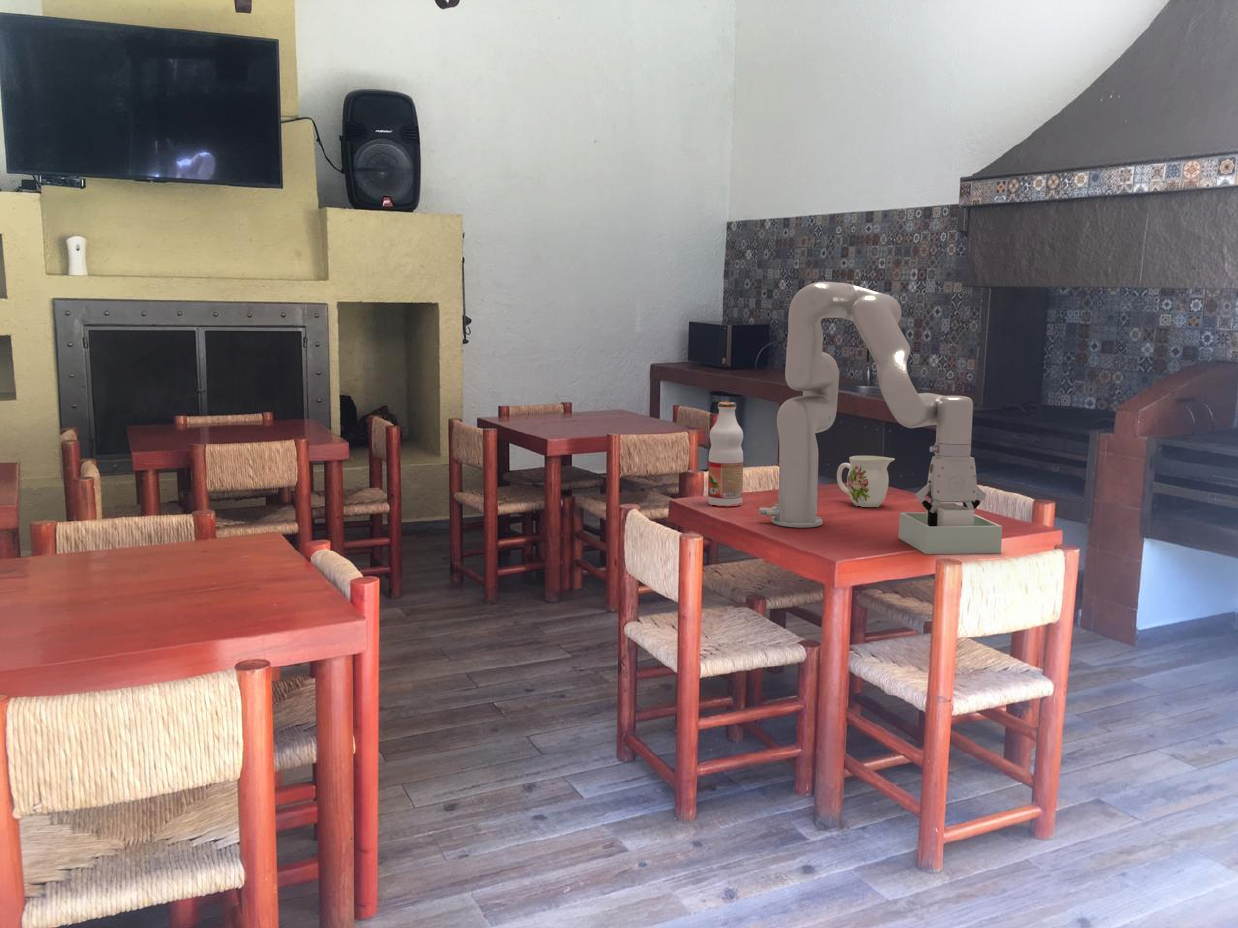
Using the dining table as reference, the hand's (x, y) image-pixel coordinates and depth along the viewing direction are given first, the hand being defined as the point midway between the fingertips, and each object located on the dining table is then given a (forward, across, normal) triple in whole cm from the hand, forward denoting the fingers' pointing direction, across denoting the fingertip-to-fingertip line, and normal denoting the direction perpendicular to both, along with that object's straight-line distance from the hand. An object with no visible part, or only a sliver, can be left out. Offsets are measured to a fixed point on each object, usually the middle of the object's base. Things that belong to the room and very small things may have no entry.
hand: (949, 528), depth 241 cm
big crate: (+4, 0, 0) cm, 4 cm away
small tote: (+1, 0, 0) cm, 1 cm away
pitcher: (+4, -3, +51) cm, 51 cm away
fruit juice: (+4, -41, +54) cm, 68 cm away
